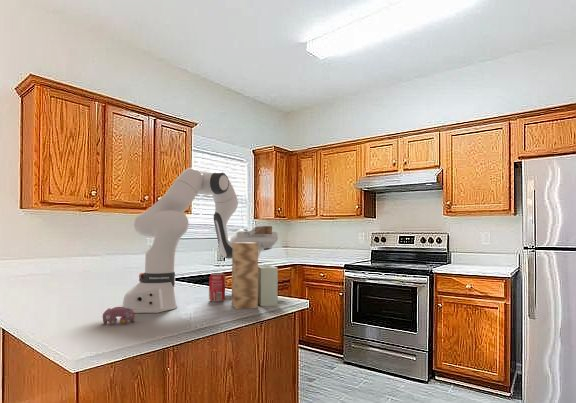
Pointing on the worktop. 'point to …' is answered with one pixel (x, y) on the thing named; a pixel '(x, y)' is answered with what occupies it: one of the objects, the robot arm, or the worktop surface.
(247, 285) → the oak stand
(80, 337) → the worktop surface
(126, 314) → the video game controller
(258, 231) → the walnut rod
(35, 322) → the worktop surface
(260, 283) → the pale green block
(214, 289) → the soda can
